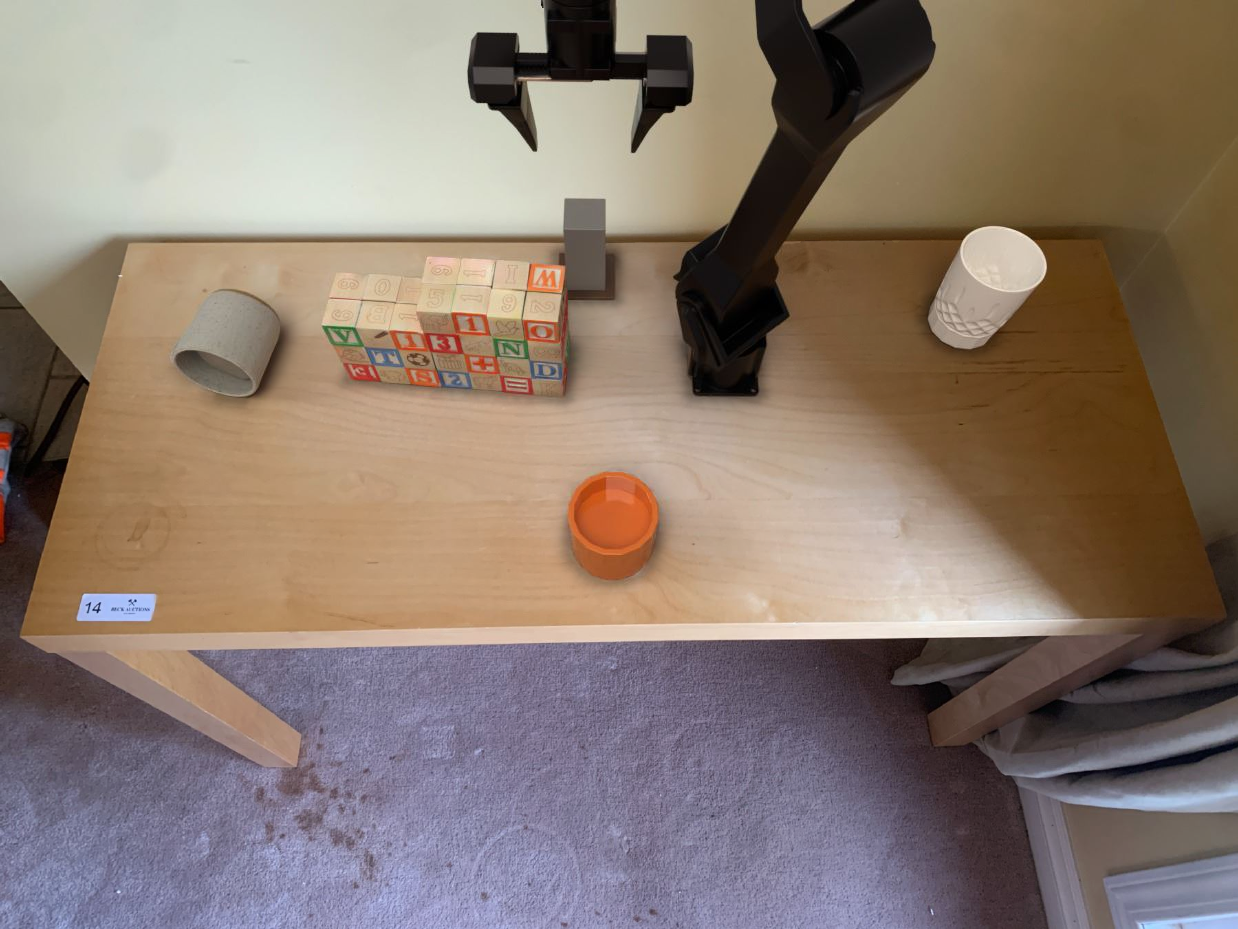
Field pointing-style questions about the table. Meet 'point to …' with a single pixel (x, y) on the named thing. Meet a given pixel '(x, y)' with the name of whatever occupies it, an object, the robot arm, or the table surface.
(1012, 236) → the white cup
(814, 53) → the robot arm
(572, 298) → the coaster
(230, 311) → the ceramic mug
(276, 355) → the table surface
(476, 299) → the stack of blocks
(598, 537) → the cup
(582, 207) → the block
